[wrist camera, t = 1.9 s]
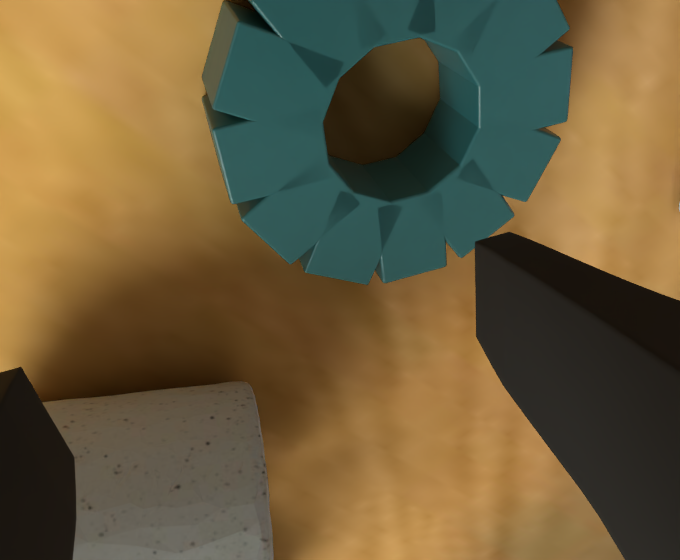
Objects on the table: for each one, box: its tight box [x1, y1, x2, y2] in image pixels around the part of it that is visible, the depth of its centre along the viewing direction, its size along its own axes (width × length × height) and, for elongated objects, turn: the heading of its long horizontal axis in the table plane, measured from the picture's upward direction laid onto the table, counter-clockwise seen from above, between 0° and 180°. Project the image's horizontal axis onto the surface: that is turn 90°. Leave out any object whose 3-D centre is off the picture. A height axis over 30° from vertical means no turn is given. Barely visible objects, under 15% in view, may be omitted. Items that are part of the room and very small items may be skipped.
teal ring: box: [202, 0, 573, 285], centre depth 17 cm, size 9×9×3 cm
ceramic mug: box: [42, 381, 274, 560], centre depth 19 cm, size 11×8×8 cm
